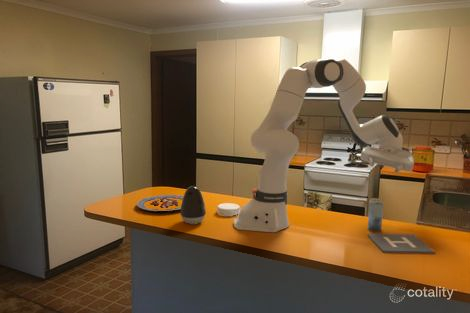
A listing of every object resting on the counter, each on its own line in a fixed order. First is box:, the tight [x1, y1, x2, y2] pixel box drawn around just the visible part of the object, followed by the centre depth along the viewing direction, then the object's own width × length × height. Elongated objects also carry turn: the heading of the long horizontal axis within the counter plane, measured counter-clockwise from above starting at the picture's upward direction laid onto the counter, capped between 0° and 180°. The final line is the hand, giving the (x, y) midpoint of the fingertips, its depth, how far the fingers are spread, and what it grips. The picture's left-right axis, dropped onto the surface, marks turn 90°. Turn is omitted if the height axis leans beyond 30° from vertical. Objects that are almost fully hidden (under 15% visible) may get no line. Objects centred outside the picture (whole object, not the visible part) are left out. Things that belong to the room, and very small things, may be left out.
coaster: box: [216, 202, 241, 217], centre depth 161 cm, size 10×10×4 cm
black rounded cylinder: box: [179, 185, 207, 225], centre depth 147 cm, size 10×10×15 cm
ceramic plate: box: [136, 194, 184, 212], centre depth 170 cm, size 26×26×3 cm
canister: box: [367, 197, 384, 233], centre depth 141 cm, size 5×5×12 cm
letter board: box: [367, 233, 436, 255], centre depth 128 cm, size 17×15×1 cm
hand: (384, 167), depth 142 cm, fingers open, 8 cm apart
